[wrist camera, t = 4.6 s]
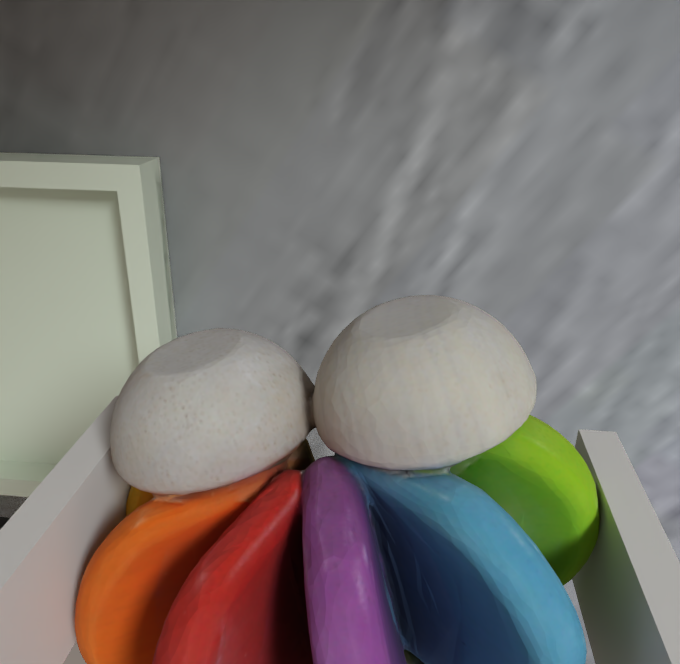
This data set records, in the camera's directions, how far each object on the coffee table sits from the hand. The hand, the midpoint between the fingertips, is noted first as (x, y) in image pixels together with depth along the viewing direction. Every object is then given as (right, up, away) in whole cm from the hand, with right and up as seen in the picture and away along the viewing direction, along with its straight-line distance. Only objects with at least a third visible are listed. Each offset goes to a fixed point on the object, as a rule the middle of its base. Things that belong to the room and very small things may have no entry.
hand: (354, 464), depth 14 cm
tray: (-15, +3, +15) cm, 22 cm away
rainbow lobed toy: (0, 0, +1) cm, 1 cm away
